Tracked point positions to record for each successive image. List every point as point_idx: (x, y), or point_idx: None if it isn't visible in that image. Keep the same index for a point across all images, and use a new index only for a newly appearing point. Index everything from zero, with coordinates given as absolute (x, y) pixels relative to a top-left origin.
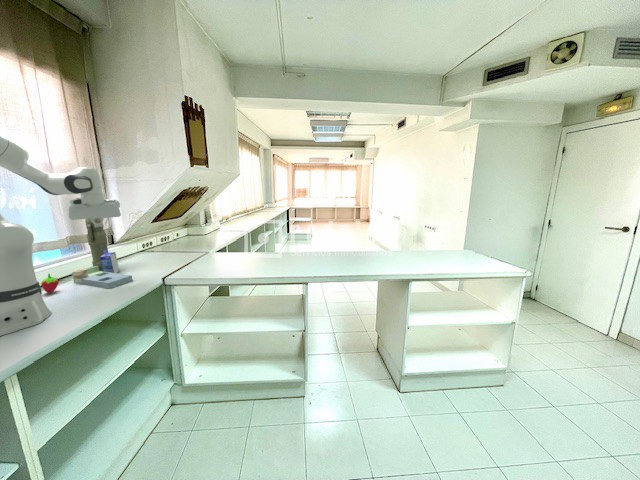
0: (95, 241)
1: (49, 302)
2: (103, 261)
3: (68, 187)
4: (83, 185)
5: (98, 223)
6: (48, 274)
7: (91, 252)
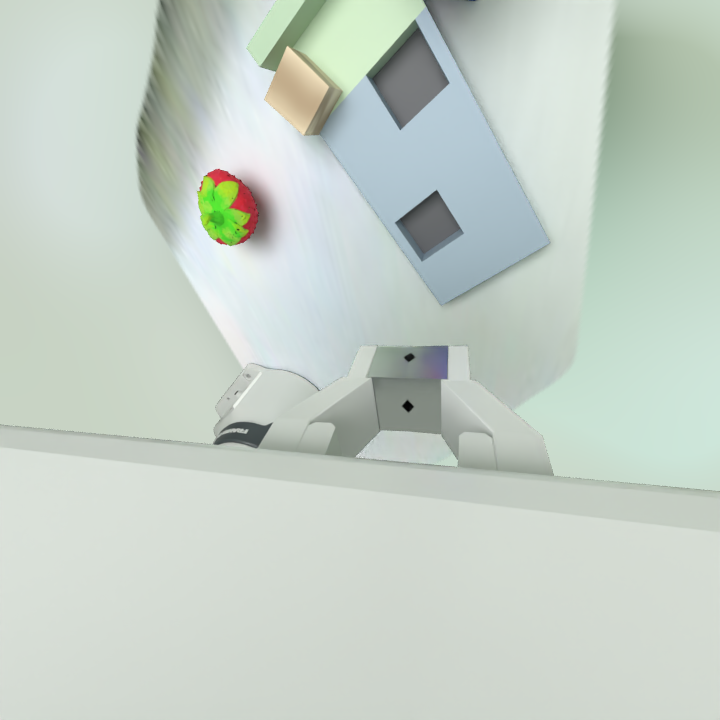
0: None
1: (289, 316)
2: None
3: None
4: None
5: (418, 408)
6: (205, 224)
7: None
